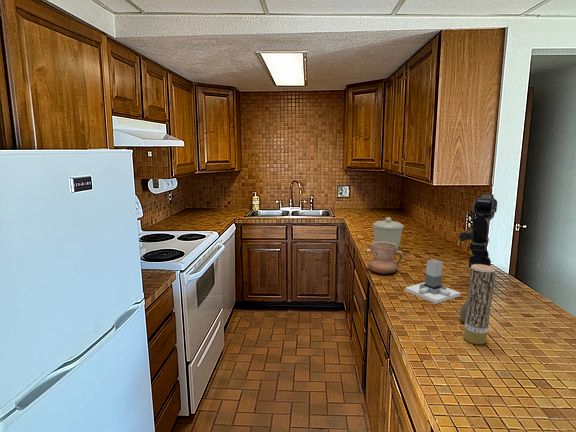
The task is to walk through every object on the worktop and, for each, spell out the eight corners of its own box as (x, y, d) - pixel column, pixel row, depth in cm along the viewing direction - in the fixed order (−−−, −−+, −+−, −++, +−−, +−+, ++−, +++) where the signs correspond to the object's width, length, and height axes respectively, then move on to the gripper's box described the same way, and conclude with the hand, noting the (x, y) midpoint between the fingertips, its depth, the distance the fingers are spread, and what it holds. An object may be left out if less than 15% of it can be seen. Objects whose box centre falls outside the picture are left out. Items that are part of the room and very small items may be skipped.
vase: (468, 328, 133) (470, 304, 132) (454, 319, 140) (457, 297, 138) (484, 326, 135) (487, 302, 133) (470, 317, 142) (472, 295, 140)
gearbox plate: (428, 284, 175) (429, 277, 175) (460, 296, 162) (461, 288, 161) (405, 290, 167) (405, 283, 166) (436, 303, 154) (436, 295, 153)
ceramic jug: (366, 275, 187) (367, 247, 184) (364, 266, 201) (366, 240, 198) (403, 277, 184) (406, 249, 182) (399, 268, 198) (401, 241, 196)
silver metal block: (431, 287, 167) (433, 259, 165) (440, 290, 163) (443, 261, 161) (424, 289, 165) (426, 260, 162) (433, 292, 161) (436, 263, 159)
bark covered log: (466, 333, 130) (474, 262, 125) (488, 339, 125) (497, 267, 121) (460, 340, 124) (468, 267, 120) (483, 347, 120) (492, 272, 116)
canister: (405, 256, 221) (408, 220, 217) (374, 255, 221) (376, 219, 217) (397, 247, 238) (399, 214, 235) (368, 247, 239) (370, 214, 235)
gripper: (463, 221, 177) (460, 253, 180) (458, 228, 161) (454, 263, 164) (490, 224, 171) (486, 257, 174) (487, 231, 156) (483, 268, 159)
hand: (477, 261), depth 168 cm, fingers open, 9 cm apart
